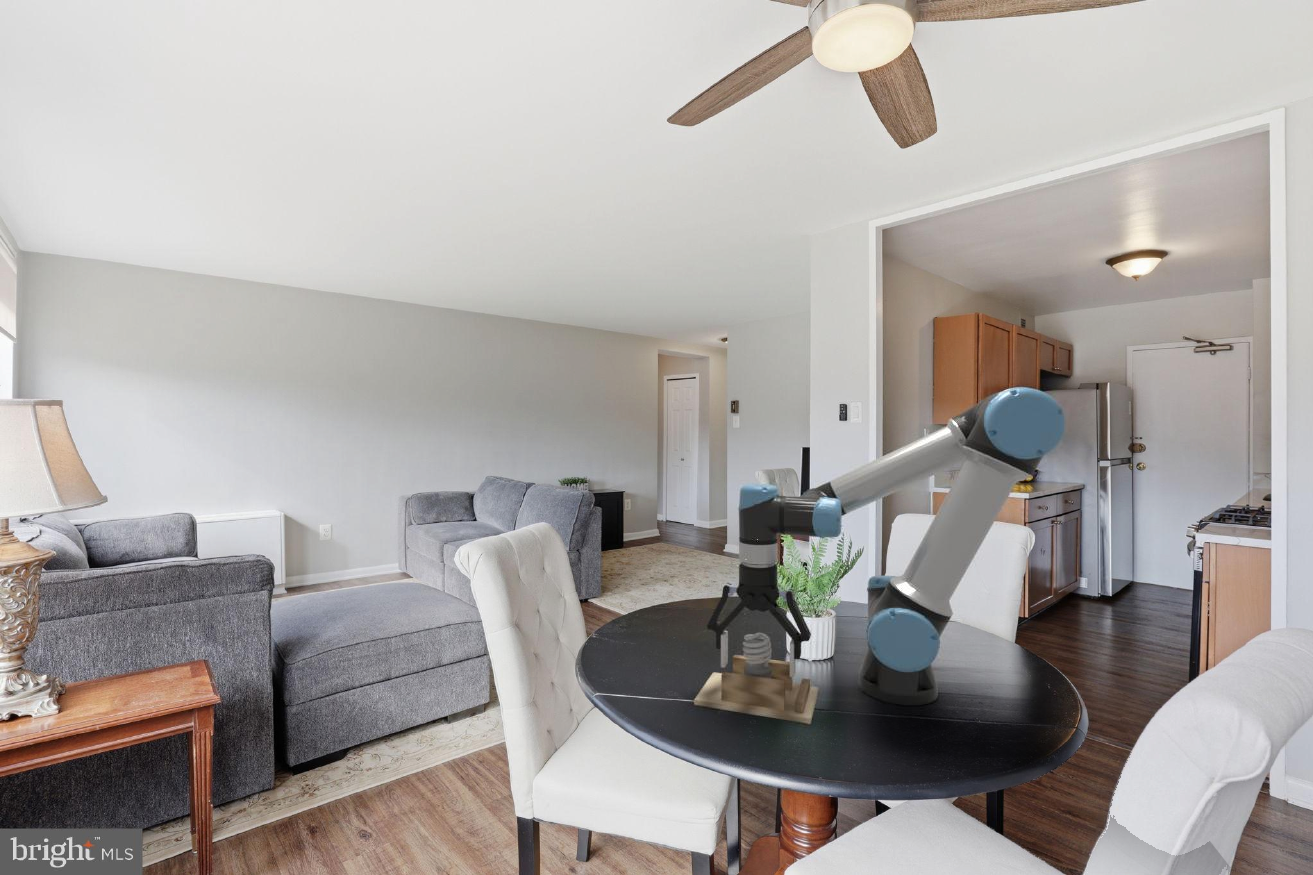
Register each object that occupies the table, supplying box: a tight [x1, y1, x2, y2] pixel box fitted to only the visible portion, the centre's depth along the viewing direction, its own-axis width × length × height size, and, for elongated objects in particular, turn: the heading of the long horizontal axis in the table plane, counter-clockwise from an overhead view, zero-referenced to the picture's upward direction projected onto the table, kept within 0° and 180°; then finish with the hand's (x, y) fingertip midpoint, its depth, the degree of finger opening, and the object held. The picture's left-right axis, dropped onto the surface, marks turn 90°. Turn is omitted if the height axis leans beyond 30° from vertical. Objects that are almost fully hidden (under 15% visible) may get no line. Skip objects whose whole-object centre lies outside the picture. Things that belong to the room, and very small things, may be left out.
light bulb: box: [742, 632, 773, 679], centre depth 122 cm, size 6×6×12 cm
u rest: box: [693, 654, 819, 725], centre depth 122 cm, size 22×14×6 cm, turn 70°
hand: (757, 669), depth 122 cm, fingers open, 13 cm apart
